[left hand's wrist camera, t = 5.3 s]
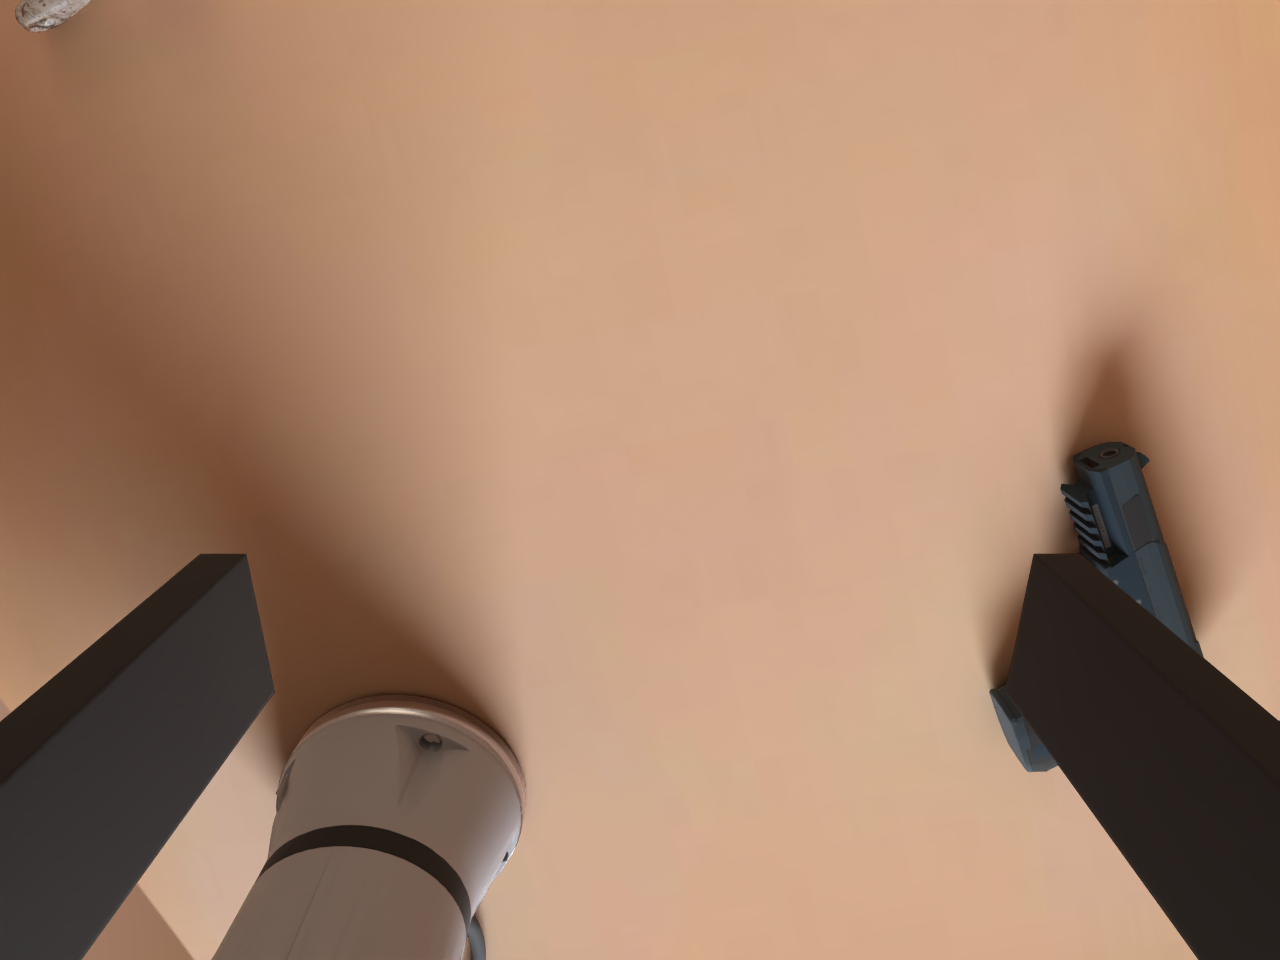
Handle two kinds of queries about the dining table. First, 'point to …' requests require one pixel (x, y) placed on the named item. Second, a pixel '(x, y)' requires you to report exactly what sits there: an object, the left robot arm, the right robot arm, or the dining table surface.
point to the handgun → (1110, 563)
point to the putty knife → (46, 13)
